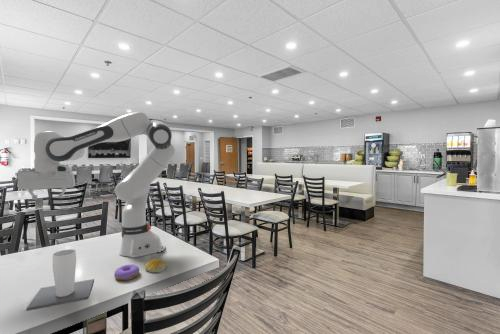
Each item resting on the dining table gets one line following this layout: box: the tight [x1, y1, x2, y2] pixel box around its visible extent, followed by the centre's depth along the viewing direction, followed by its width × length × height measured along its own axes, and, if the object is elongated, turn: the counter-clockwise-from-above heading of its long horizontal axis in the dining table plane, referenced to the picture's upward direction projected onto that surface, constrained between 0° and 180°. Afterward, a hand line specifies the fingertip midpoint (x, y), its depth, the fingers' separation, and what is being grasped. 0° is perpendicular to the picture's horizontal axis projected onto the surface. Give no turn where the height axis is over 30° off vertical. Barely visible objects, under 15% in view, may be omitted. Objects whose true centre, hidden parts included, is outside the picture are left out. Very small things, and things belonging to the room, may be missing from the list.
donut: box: [113, 263, 140, 281], centre depth 105 cm, size 10×9×5 cm
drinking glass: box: [52, 248, 77, 297], centre depth 90 cm, size 7×7×15 cm
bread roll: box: [144, 258, 167, 274], centre depth 112 cm, size 8×9×4 cm
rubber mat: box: [25, 278, 95, 311], centre depth 91 cm, size 17×14×1 cm
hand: (48, 198), depth 112 cm, fingers open, 8 cm apart
